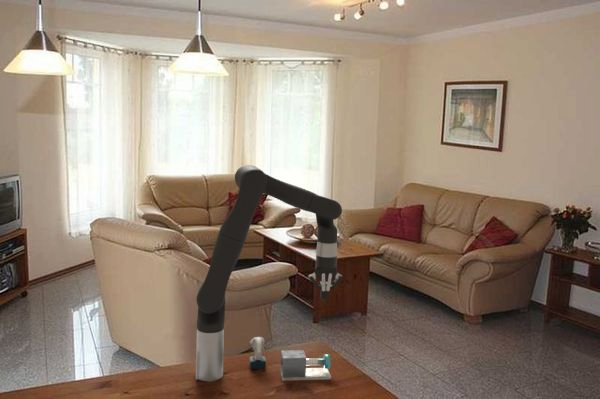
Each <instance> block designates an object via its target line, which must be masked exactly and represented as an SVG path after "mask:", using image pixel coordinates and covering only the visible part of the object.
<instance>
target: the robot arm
mask: <svg viewBox="0 0 600 399" xmlns="http://www.w3.org/2000/svg"><path fill="white" fill-rule="evenodd" d="M234 182H235V185H236V186H237V187H238V193H237V197H236V199H235V203H234V205H233V208H232V209H231V211H230V213H229V214H228V215H227V216H226V218H225V219H224V221H223V222H222V224H221V226H220V228H219V230H218V233H217V237H216V240H215V243H214V247H213V250H212V254H211V258H210V259H211V260H210V264H209V267H208V268H209V269H208V272H207V274H206V276H205V279H204V281H203V283H202V284H201V285H200V286H199V289H198V291H197V294H196V305H197V320H196V350H195V351H196V353H195V380H196V381H197V380H199V381H202V382H203V381H204V382H214V381H218V380H220V379H222V378H223V375H224V345H225V344H224V339H225V338H224V337H225V319H226V317H225V316H226V291H227V287H228V283H229V280H230V278H231V275H232V273H233V271H234V268H235V266H236V265H237V262H238V260H239V258H240V256H241V253H242V250H243V248H244V246H245V242H246V240H247V236H248V233H249V230H250V227H251V226H252V225H251V224H252V223H253V222H252V221H253V218H254V215H255V212H256V210H257V208H258V207H259V204H260V202H261V200H262V197H263V195H267V196H270V197H272V198H275V199H277V200H279V201H281V202H282V203H285V204H287V205H288V206H292V207H293V208H297V209H299V210H301V211H305V212H308V213H313V214H315V219H316V226H317V244H316V251H315V269H314V270H313V273H311V274H308V278H309V280H310V281H311V283H312V284H313V285H314V286H315V288H316V289H317V290H319V291H320V299H321V300H322V302H327V301H328V300H329V298H330V291H331V290H335V288H336V287H337V286H338V285H339V284H340V283H341V281H342V280H344V276H343V275H342V274H340V273H339V272H338V267H337V265H338V264H337V263H338V227H337V226H336V225H335V223H334V221H335V220H337V219H339V218H340V217H341V215H342V212H343V209H342V208H343V207H342V205H341V204H340V203H339V201H337V200H336V199H335V200H334V199H331V198H328V197H325V196H323V195H319V194H317V193H315V192H314V191H313V192H312V191H310V190H308V189H305V188H302V187H299V186H298V185H297V186H296V185H294V184H290V183H288V182H285V181H282V180H279V179H277V178H275V177H272V176H271V175H269V174H267V173H265V172H264V171H263V170H262V169H261V168H258V167H257V166H255V165H252V164H245V165H242V166H240V167H239V168H238V169H236V171H235V174H234ZM316 278H317V279H318V280H319V283H320V284H319V283H318V282H317V280H316ZM334 278H335V279H334Z"/></svg>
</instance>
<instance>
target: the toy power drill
mask: <svg viewBox="0 0 600 399" xmlns="http://www.w3.org/2000/svg"><path fill="white" fill-rule="evenodd" d="M249 344H251V346H252V349H253V356H249V370H250V369H258V371H260V370H259V369H262V371H263V370H264V369H266V368H267V365H266V364H267V360H266V356H263V351H262V350H263V347H264V345H265V339H264V338H263V337H262V336H255V337H253V338H252V339H251V340H250V341H249Z"/></svg>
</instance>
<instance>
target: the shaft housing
mask: <svg viewBox="0 0 600 399" xmlns="http://www.w3.org/2000/svg"><path fill="white" fill-rule="evenodd" d="M306 358H307V356H306V353H305V350H303V349H298V350H297V349H295V350H294V349H293V350H291V349H290V350H289V349H288V350H281V351H280V376H281V380H282V381H283V382H284V381H287V382H288V381H319V380H323V381H324V380H326V381H327V380H332V375H331V374H330V372H329V369H324V368H323V367H309V368H308V367H307V366H306Z"/></svg>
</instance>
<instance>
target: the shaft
mask: <svg viewBox="0 0 600 399" xmlns="http://www.w3.org/2000/svg"><path fill="white" fill-rule="evenodd" d="M331 358H332V356H331V354H330V353H328V354H327V353H324V354H323V355H322V357H318V358H313V357H312V358H311V357H309V358H307V357H306V367H307V366H309V367H310V366H322V368H324V369H328V370H330V369H331V368H332V359H331Z"/></svg>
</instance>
